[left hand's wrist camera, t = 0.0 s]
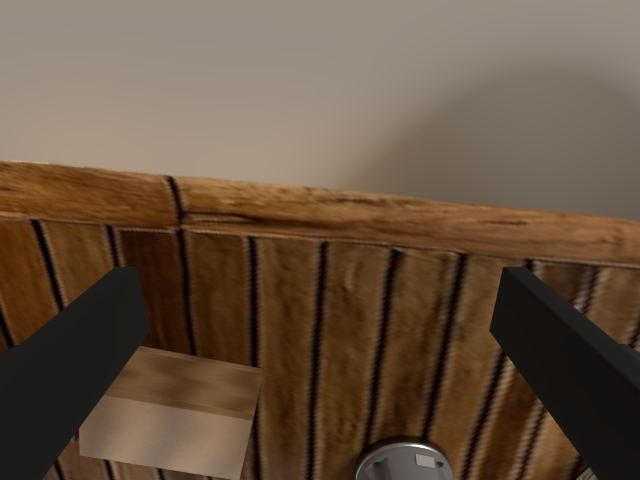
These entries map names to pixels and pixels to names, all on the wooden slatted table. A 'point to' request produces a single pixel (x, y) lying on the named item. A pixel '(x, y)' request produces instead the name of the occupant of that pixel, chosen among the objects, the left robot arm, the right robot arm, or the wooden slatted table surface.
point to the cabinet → (175, 414)
